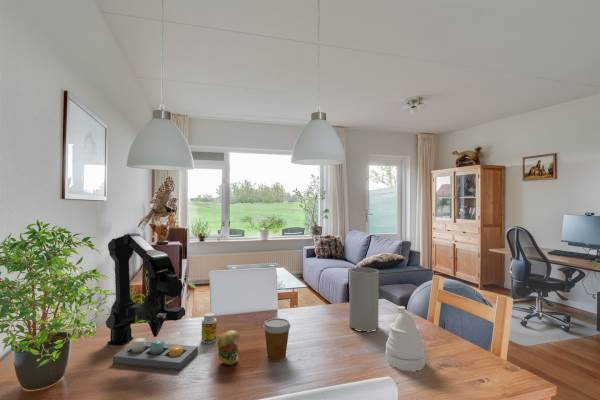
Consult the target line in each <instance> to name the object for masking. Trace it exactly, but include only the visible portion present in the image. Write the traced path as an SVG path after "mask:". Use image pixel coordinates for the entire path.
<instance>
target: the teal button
mask: <svg viewBox="0 0 600 400" xmlns="http://www.w3.org/2000/svg"><path fill="white" fill-rule="evenodd" d="M149 342H150V354H153V355H156V354H160V353H162V352H164V343H165V340H164V339H155V340H152V341H149Z"/></svg>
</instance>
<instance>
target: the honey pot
mask: <svg viewBox="0 0 600 400" xmlns="http://www.w3.org/2000/svg"><path fill="white" fill-rule="evenodd" d="M405 310H406V306H404V305H403V306H402V305H399V306H398V305H397V311H398V312H399V313H400V314H399V315H398V316H397V318H396V319H395V321H394V322H391V323H390V324H389V326H388V328H389V330H390V332H389V333H388V337H387V341H386V342H385V362H386V361H387V362H388V363H389V364H390V365H392V366H394V367H397V368H399V369H403V370H419V369H421V368H423V367H424V366H426V349H425V346H424V343H423V339H422V337H421V335H420V331H421V329H420V327H419V326H418V325H417V324H416V322H415V320H414V319H413V317H412V316H411V315H410V313H408V312H406V311H405ZM387 362H386V363H387ZM388 363H387V364H388ZM389 364H388V365H389ZM390 365H389V366H390ZM392 366H391V367H392ZM394 367H393V368H394ZM424 368H425V367H424ZM424 368H423V369H424ZM399 369H398V370H399ZM403 370H402V371H403ZM419 371H420V370H419Z"/></svg>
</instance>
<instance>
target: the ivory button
mask: <svg viewBox="0 0 600 400" xmlns="http://www.w3.org/2000/svg"><path fill="white" fill-rule="evenodd" d="M146 342H147V340H146V338H145V337H137V338H135V339H134V338H133V339H131V344H132V347H131V352H133V353H139V352H142V351H144V350H145V349H146Z"/></svg>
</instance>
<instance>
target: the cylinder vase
mask: <svg viewBox="0 0 600 400" xmlns="http://www.w3.org/2000/svg"><path fill="white" fill-rule="evenodd" d="M379 273H380V272H379V269H377V268H372V267H362V266H361V267H357V266H356V267H352V268H350V269H349V302H348V303H349V305H348V308H349V311H348V313H349V314H348V317H349V319H348V323H349V327H350V326H351V327H352V328H354V329H357V330H361V331H372V330H375V329H377V328H378V329H379V297H380V296H379V295H380V293H379V291H380V290H379V287H380V286H379V285H380V284H379V281H380V279H379V278H380V277H379V275H380V274H379ZM351 327H350V328H351ZM352 328H351V329H352ZM354 329H353V330H354ZM378 329H377V330H378Z"/></svg>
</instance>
